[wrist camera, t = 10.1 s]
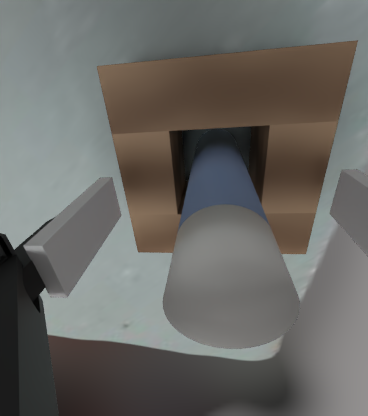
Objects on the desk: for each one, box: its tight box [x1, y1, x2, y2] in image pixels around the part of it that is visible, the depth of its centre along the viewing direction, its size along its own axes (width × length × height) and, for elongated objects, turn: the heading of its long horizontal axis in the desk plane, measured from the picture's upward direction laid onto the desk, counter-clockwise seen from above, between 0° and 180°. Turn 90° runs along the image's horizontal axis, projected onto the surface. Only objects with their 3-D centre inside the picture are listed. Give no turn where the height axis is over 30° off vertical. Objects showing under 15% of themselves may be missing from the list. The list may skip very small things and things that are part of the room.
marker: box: [163, 129, 300, 349], centre depth 15 cm, size 4×4×18 cm
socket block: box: [97, 41, 358, 254], centre depth 19 cm, size 14×14×7 cm
